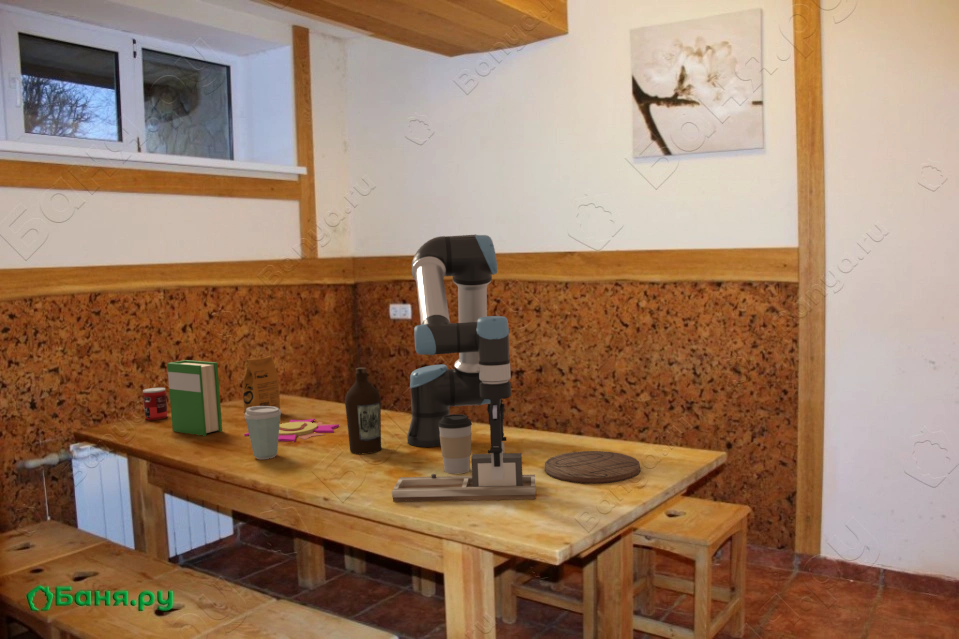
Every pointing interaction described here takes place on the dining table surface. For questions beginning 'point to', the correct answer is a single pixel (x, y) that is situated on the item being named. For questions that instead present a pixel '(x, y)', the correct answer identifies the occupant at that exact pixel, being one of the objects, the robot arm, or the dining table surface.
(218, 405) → the hardback book
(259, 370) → the coffee package
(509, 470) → the picture frame
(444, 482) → the wooden compartment tray
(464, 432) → the coffee cup
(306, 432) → the wall ornament
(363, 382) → the olive oil
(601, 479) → the trivet
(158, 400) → the canned food
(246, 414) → the disposable coffee cup
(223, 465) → the dining table surface
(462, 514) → the dining table surface
